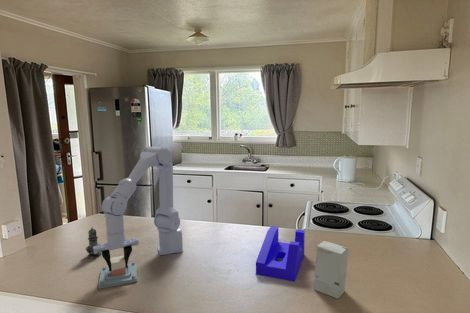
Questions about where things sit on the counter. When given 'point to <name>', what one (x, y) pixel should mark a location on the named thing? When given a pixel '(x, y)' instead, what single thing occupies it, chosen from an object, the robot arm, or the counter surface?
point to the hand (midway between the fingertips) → (118, 268)
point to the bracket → (280, 256)
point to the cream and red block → (118, 266)
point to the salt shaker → (92, 244)
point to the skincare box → (331, 269)
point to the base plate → (109, 281)
